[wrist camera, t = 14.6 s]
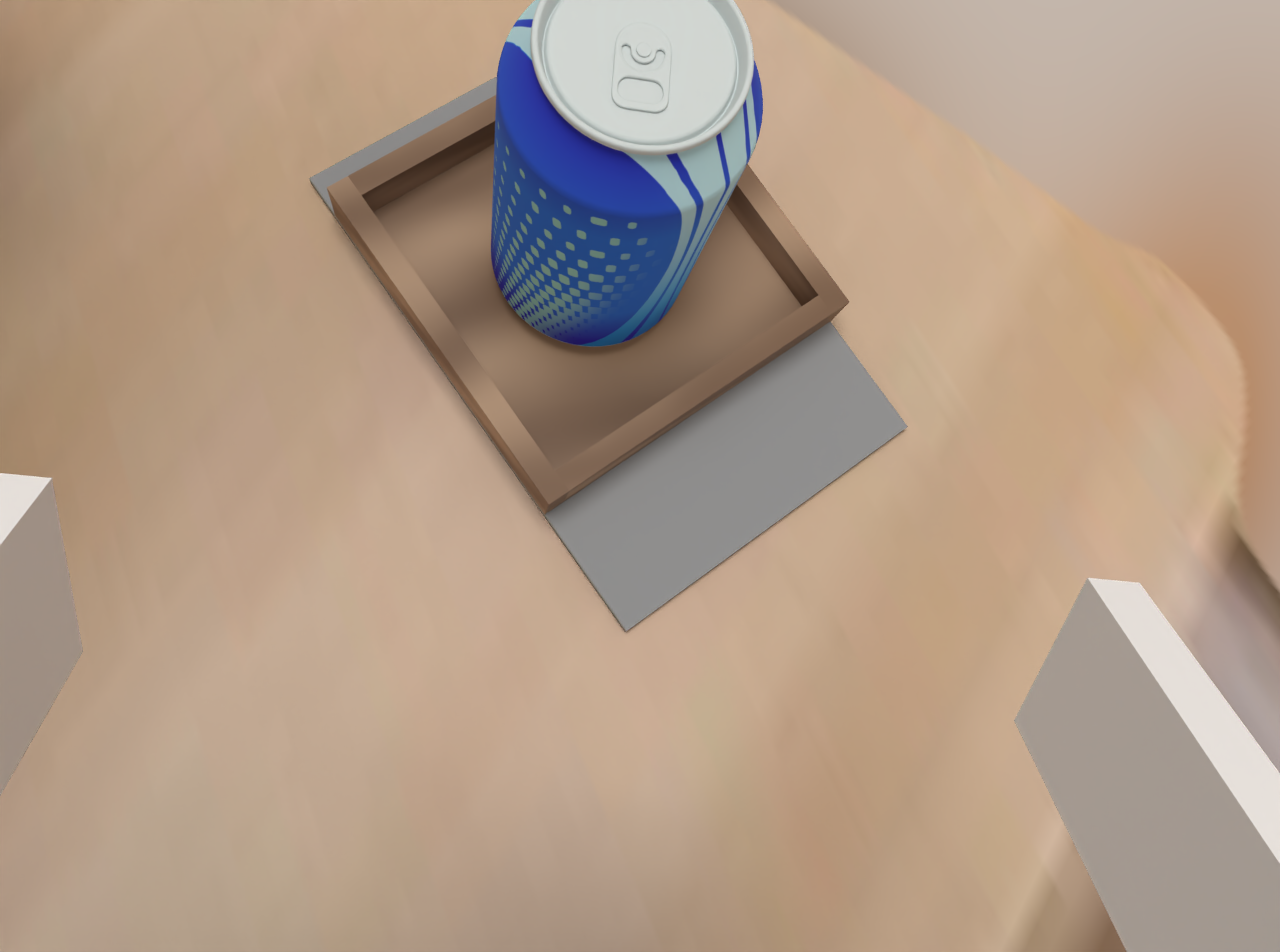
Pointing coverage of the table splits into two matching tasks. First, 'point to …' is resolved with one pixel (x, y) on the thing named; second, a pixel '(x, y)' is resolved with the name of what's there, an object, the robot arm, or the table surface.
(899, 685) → the table surface
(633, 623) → the placemat
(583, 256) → the beer can
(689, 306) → the tray
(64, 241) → the table surface
